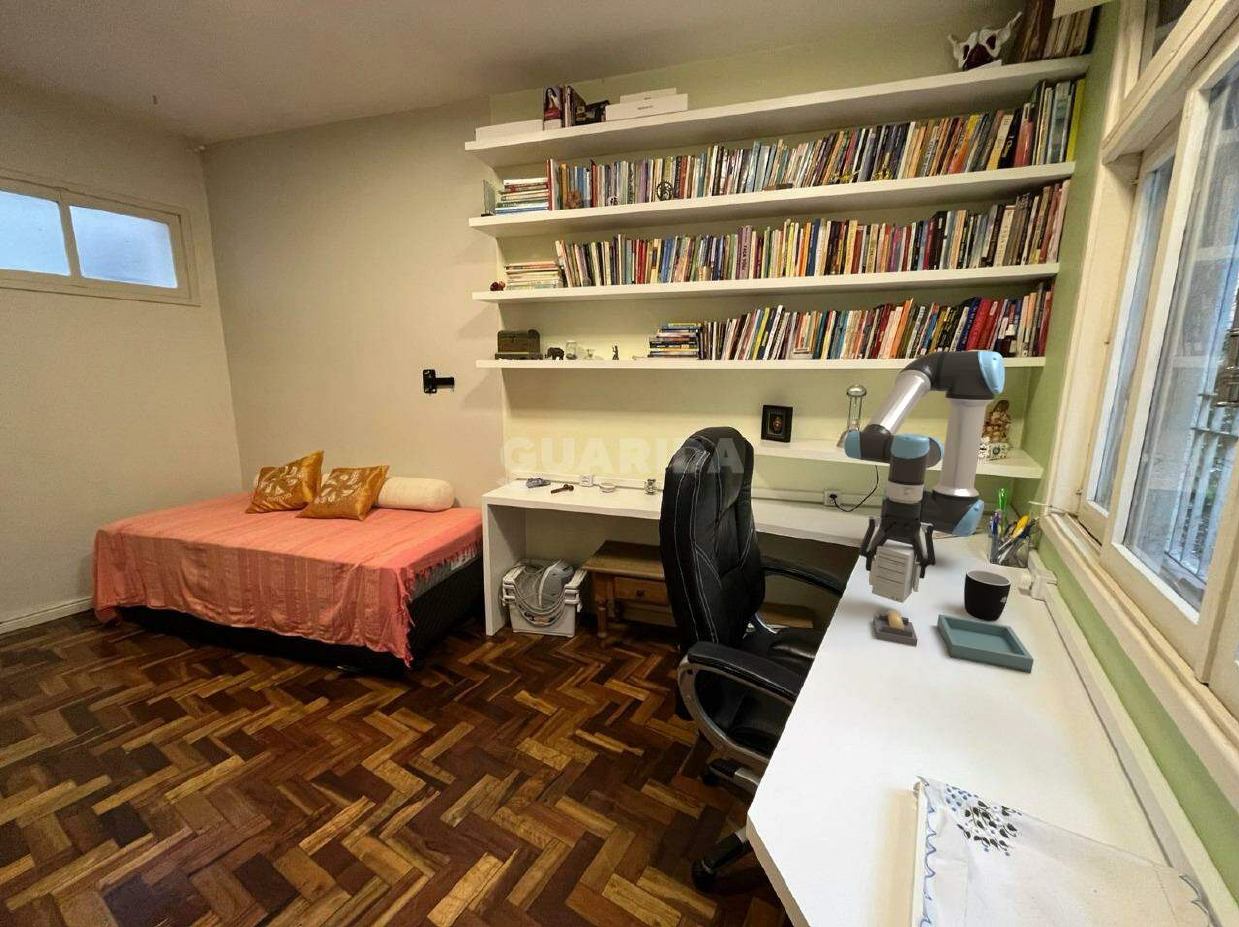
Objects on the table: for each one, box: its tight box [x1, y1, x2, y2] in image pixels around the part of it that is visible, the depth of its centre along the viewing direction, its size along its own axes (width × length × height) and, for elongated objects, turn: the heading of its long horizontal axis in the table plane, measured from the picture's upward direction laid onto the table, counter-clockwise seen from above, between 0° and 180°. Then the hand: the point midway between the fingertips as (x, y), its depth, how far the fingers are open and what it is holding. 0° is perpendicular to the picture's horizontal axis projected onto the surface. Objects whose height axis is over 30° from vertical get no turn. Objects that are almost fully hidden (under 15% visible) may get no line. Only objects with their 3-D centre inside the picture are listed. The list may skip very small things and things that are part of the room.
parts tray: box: [936, 613, 1035, 674], centre depth 110 cm, size 14×14×3 cm
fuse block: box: [872, 609, 919, 647], centre depth 115 cm, size 8×8×4 cm
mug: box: [963, 569, 1012, 622], centre depth 125 cm, size 12×9×10 cm
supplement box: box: [871, 539, 917, 604], centre depth 124 cm, size 7×7×13 cm
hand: (892, 586), depth 125 cm, fingers closed on supplement box, 9 cm apart
